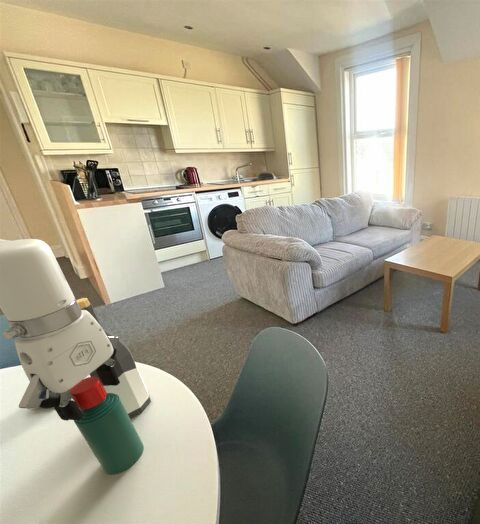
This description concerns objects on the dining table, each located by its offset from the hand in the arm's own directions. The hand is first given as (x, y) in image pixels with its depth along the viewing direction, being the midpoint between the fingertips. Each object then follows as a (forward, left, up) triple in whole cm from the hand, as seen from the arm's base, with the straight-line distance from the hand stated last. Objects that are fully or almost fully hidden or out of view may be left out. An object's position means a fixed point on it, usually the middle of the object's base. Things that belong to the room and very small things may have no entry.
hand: (93, 399), depth 52 cm
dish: (-24, +24, -16) cm, 38 cm away
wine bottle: (-4, +14, -16) cm, 22 cm away
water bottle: (0, 0, -16) cm, 16 cm away
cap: (0, 0, 0) cm, 0 cm away
